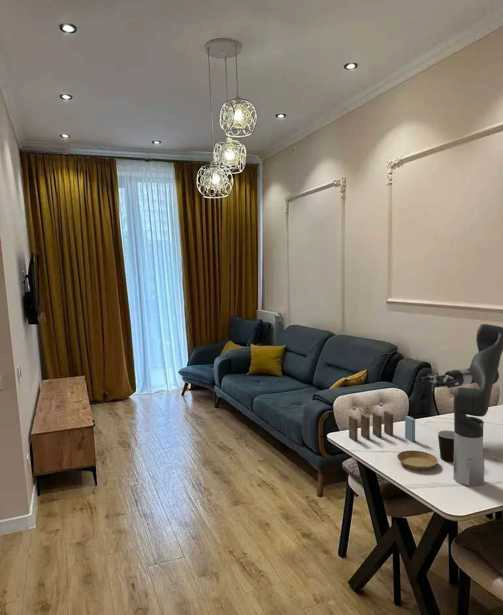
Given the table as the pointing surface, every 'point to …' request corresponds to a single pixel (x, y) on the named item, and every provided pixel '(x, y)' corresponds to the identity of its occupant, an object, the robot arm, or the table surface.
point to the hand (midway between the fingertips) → (428, 382)
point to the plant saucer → (417, 460)
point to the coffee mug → (446, 445)
